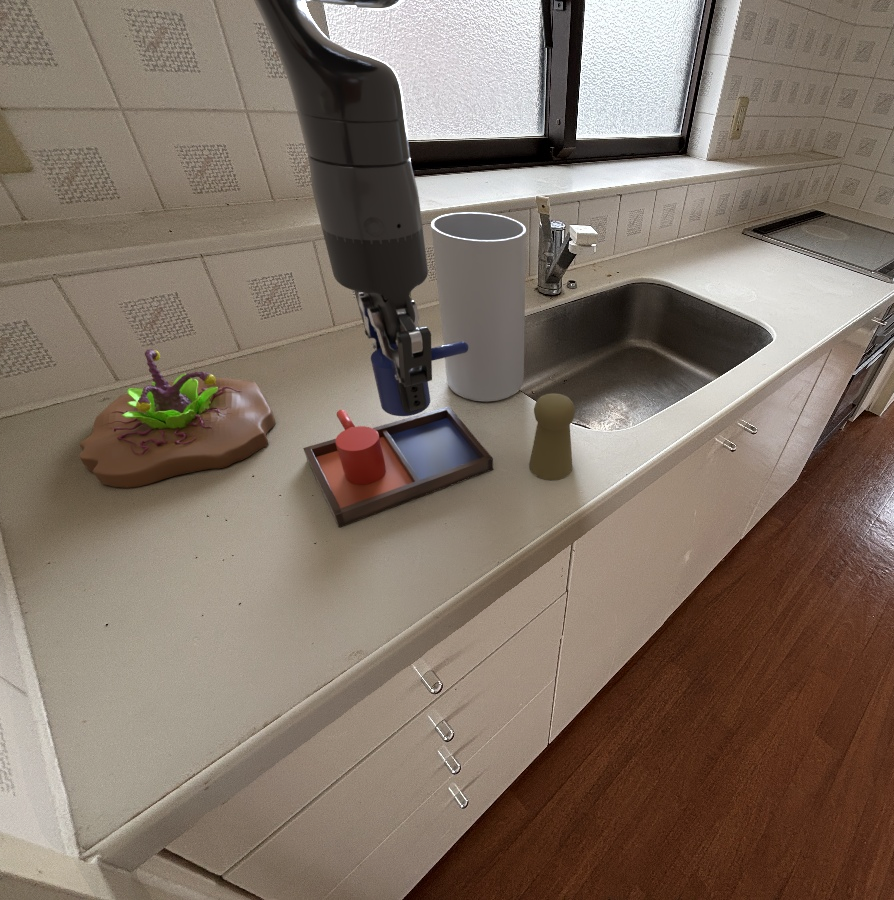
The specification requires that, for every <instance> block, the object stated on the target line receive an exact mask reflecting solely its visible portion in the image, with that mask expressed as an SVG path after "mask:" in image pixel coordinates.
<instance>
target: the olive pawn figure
mask: <svg viewBox="0 0 894 900" xmlns="http://www.w3.org/2000/svg"><path fill="white" fill-rule="evenodd" d="M575 413H576V408H575V405H574V402H573V401H572V399H570V398H569V397H568V396H566V395H564V394H561V393H551V392H550V393H546V394H543V395H541V396H540V397H539V398H538V399H537V400H536V401H535V404H534V407H533V414H534V419H535V421H536V422H537V423H536V429H535V434H534V439H533V444H532V448H531V453H530V457H529V463H528V466H529V470H530V472H531V473H532V474H533V475H534V476H536V477H537V478H539V479H542V480H546V481H559V480H562V479H565V478H566V477H567V476H569V475H570V474H571V472H572V471H573V453H572V438H571V424H572V423H573V421H574V418H575Z"/></svg>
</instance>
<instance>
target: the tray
mask: <svg viewBox="0 0 894 900" xmlns="http://www.w3.org/2000/svg"><path fill="white" fill-rule="evenodd" d="M372 428H373V429H375V430H376V431H377V432H378V434H379V438H380V442H381V447H382V452H383V456H384V461H385V465H386V472H385V474H384V476H383V477H382V478H381V479H379V480H378V481H376V482H373V483H370V484H366V485H357V484H353V483H351V482H349V481H348V480H347V479H346V477H345V474H344V471H343V467H342V464H341V460H340V457H339V454H338V450H337V447H336V443H335V440H336V438H333V439H330V440H326V441H323V442H319V443H315V444H312V445H309V446H305V447H303V451H304V454H305V457H306V460H307V462H308V464H309V467H310V469H311V471H312V473H313V475H314V477H315V479H316V482H317V483H318V486H319V488H320V490H321V492H322V494H323V496H324V499H325V501H326V504H327V505H328V507H329V509H330V511H331V514H332V516H333V518H334V520H335V522H336V525H337V527H338V528H341V527H344V526H347V525H349V524H352V523H355V522H358V521H360V520H363V519H365V518H368V517H370V516H373V515H376V514H378V513H381V512H385V511H387V510H390V509H393V508H395V507H397V506H400V505H403V504H405V503H408V502H410V501H414V500H416V499H419V498H422V497H424V496H426V495H429V494H432V493H435V492H437V491H440V490H443V489H445V488H448V487H451V486H454V485H456V484H459V483H462V482H463V481H466V480H469V479H473V478H475V477H477V476H480V475H483V474H485V473H488V472H491V471H493V470H494V458H493V456H492V455H491V454H490V453H489V452H488V451H487V450H486V448H485V447H484V446H483V444H482V443H481V442H480V441H479V440H478V439H477V437H476V436H475V435H474V434H473V432H471V431H470V429H468V427H467V426H466V424H464V422H463V421H462V419H460V417H459V416H458V415H457V414H456V413H455V411H453V409H452V408H451V407H450V406H445V407H441V408H438V409H435V410H431V411H428V412H423V413H419V414H416V415H412V416H409V417H406V418H403V419H399V420H395V421H392V422H389V423H386V424H382V425H378V426H375V427H372Z"/></svg>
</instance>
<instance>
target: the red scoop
mask: <svg viewBox="0 0 894 900" xmlns="http://www.w3.org/2000/svg"><path fill="white" fill-rule="evenodd" d="M336 417H337V419H338V420H339V422H340V425H342V428H343V429H344V430H343V431H341V432H339V433H338V435H337V436H336V438H335V439H336V440H335V443H336V447H337V450H338V454H339V457H340V460H341V464H342V467H343V471H344V474H345V477H346V479H347V480H348V481H349V482H351V483H353V484H357V485H366V484H370V483H373V482H376V481H378V480H379V479H381V478H382V477H383V476H384V474H385V472H386V465H385V461H384V456H383V452H382V447H381V442H380V438H379V434H378V432H377V431H376V430H375V429H373V428H374V427H370V426H365V425H364V426H363V425H359V426H355V424H354V422H353V421H352V418H351V417H350V416H349V414H348V413H347V411H346V410H345V409H339V410H337V412H336Z"/></svg>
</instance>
